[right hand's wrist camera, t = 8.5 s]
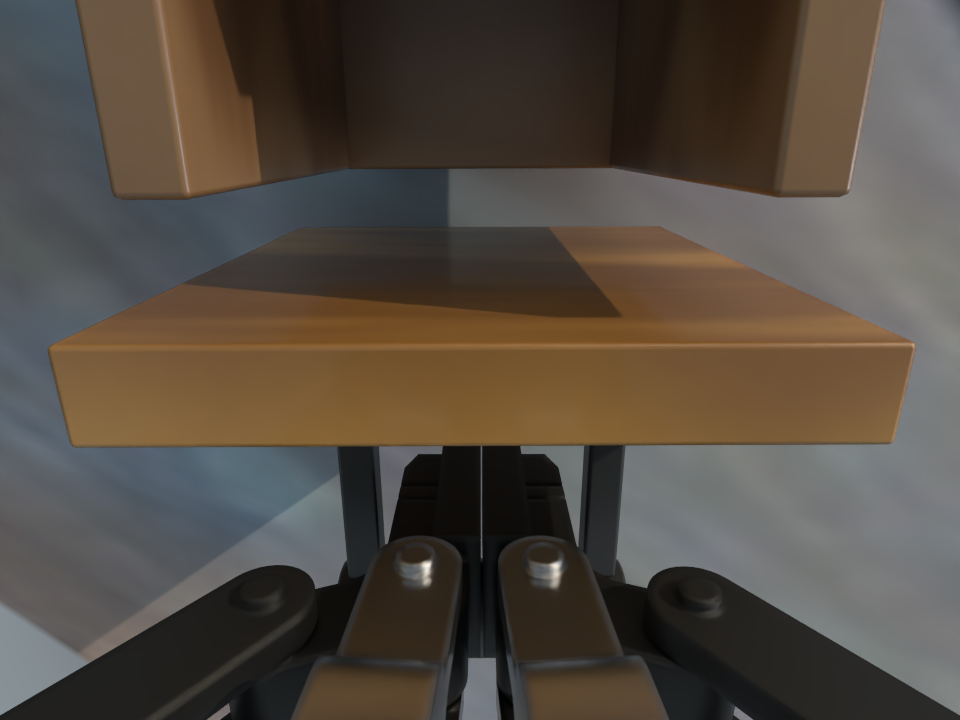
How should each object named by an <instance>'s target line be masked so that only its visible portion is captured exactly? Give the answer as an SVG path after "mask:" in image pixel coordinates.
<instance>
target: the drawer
mask: <svg viewBox="0 0 960 720" xmlns="http://www.w3.org/2000/svg"><path fill="white" fill-rule="evenodd" d="M75 1H76V7H77V12H78V17H79V22H80V27H81V33H82V38H83V43H84V48H85V53H86V59H87V64H88V69H89V74H90V79H91V85H92V90H93V95H94V100H95V105H96V111H97V116H98V121H99V126H100V131H101V137H102V142H103V147H104V152H105V158H106V163H107V168H108V173H109V178H110V184H111V189H112V192H113V194H114V196H115V197H117V198H120V199H122V200H186V199H191V198H196V197H202V196H207V195H212V194H218V193H223V192H228V191H234V190H239V189H244V188H249V187H255V186H260V185H265V184H271V183H276V182H281V181H287V180H292V179H297V178H302V177H308V176H313V175H318V174H324V173H329V172H334V171H340V170H345V169H483V168H615V169H621V170H626V171H632V172H638V173H643V174H649V175H655V176H660V177H666V178H672V179H677V180H683V181H689V182H694V183H700V184H705V185H711V186H717V187H722V188H728V189H734V190H739V191H745V192H751V193H756V194H762V195H767V196H773V197H841V196H843V195H846V194H848V193H849V191H850V189H851V184H852V179H853V174H854V168H855V163H856V157H857V152H858V147H859V141H860V136H861V131H862V125H863V120H864V115H865V109H866V104H867V99H868V93H869V88H870V82H871V77H872V72H873V66H874V61H875V56H876V50H877V45H878V40H879V34H880V29H881V23H882V18H883V13H884V7H885V2H886V0H75ZM915 351H916V345H915V343H914V342H912V341H910V340H908V339H905V338H903V337H901V336H899V335H897V334H894V333H892V332H890V331H888V330H886V329H883V328H881V327H879V326H877V325H875V324H872V323H870V322H868V321H866V320H864V319H861V318H859V317H857V316H855V315H853V314H850V313H848V312H846V311H844V310H842V309H839V308H837V307H835V306H833V305H831V304H828V303H826V302H824V301H822V300H820V299H818V298H815V297H813V296H811V295H809V294H807V293H804V292H802V291H800V290H798V289H796V288H793V287H791V286H789V285H787V284H785V283H782V282H780V281H778V280H776V279H774V278H771V277H769V276H767V275H765V274H763V273H760V272H758V271H756V270H754V269H752V268H749V267H747V266H745V265H743V264H741V263H738V262H736V261H734V260H732V259H730V258H727V257H725V256H723V255H721V254H719V253H716V252H714V251H712V250H710V249H708V248H705V247H703V246H701V245H699V244H697V243H694V242H692V241H690V240H688V239H686V238H683V237H681V236H679V235H677V234H675V233H672V232H670V231H668V230H666V229H664V228H661V227H659V226H653V227H385V228H299V229H297V230H295V231H293V232H291V233H289V234H287V235H284V236H282V237H280V238H278V239H276V240H274V241H272V242H270V243H267V244H265V245H263V246H261V247H259V248H257V249H255V250H253V251H250V252H248V253H246V254H244V255H242V256H240V257H238V258H235V259H233V260H231V261H229V262H227V263H225V264H223V265H221V266H218V267H216V268H214V269H212V270H210V271H208V272H206V273H204V274H201V275H199V276H197V277H195V278H193V279H191V280H189V281H187V282H184V283H182V284H180V285H178V286H176V287H174V288H172V289H169V290H167V291H165V292H163V293H161V294H159V295H157V296H155V297H152V298H150V299H148V300H146V301H144V302H142V303H140V304H138V305H135V306H133V307H131V308H129V309H127V310H125V311H123V312H121V313H118V314H116V315H114V316H112V317H110V318H108V319H106V320H103V321H101V322H99V323H97V324H95V325H93V326H91V327H89V328H86V329H84V330H82V331H80V332H78V333H76V334H74V335H72V336H69V337H67V338H65V339H63V340H61V341H59V342H57V343H55V344H52V345H50V346H49V348H48V355H49V359H50V363H51V367H52V371H53V375H54V379H55V384H56V388H57V392H58V396H59V400H60V404H61V408H62V412H63V416H64V420H65V424H66V428H67V432H68V437H69V441H70V444H71V445H72V446H73V447H314V446H337V449H338V461H339V472H340V483H341V495H342V506H343V518H344V529H345V540H346V552H347V561H346V562H345V563H344V565H343V567H342V570H341V573H340V577H339V581H338V584H340V583H343V582H347V581H350V580H353V579H355V578H358V577H360V576H362V575H363V574H365V573H366V572H367V570H368V567H369V564H370V561H371V560H372V558H373V556H374V555H375V553H376V552H377V551H378V550H379V549H380V548H382V547H383V546H385V538H384V522H383V506H382V491H381V475H380V459H379V446H563V445H584V460H583V478H582V495H581V512H580V529H579V547H578V548H579V549H581V550H582V551H583V552H584V553H585V555H586V556H587V558H588V560H589V562H590V564H591V567H592V569H593V570H595V571H596V572H598V573H599V574H601V575H603V576H605V577H607V578H610V579H612V580H615V581H618V582H622V583H626V581H625V577H624V573H623V570H622V567H621V565H620V563H619V561H618V560H617V559H616V554H617V541H618V529H619V517H620V505H621V493H622V480H623V468H624V456H625V445H812V444H890V443H892V442H893V441H894V438H895V434H896V430H897V426H898V422H899V418H900V413H901V409H902V405H903V401H904V397H905V392H906V388H907V384H908V380H909V376H910V372H911V367H912V363H913V359H914V355H915ZM468 658H496V657H483V558H481V657H468Z"/></svg>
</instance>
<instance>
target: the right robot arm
mask: <svg viewBox="0 0 960 720" xmlns="http://www.w3.org/2000/svg"><path fill="white" fill-rule="evenodd" d="M482 551H483V657H496V706H497V714H498V720H739V719H738V718H737V717H735V716H734V715H733V714H734V708H735V706H736V707H737V708H739V709H740V710H741V711H743V712H744V713H745V714H747V715H748V716H749V717H751V718H752V719H753V720H960V715H958V714H956V713H955V712H953V711H951V710H949V709H948V708H946V707H944V706H943V705H941V704H939V703H938V702H936V701H934V700H932V699H931V698H929V697H927V696H926V695H924V694H922V693H921V692H919V691H917V690H915V689H914V688H912V687H910V686H909V685H907V684H905V683H903V682H902V681H900V680H898V679H897V678H895V677H893V676H892V675H890V674H888V673H886V672H885V671H883V670H881V669H880V668H878V667H876V666H875V665H873V664H871V663H869V662H868V661H866V660H864V659H863V658H861V657H859V656H857V655H856V654H854V653H852V652H851V651H849V650H847V649H846V648H844V647H842V646H840V645H839V644H837V643H835V642H834V641H832V640H830V639H829V638H827V637H825V636H823V635H822V634H820V633H818V632H817V631H815V630H813V629H811V628H810V627H808V626H806V625H805V624H803V623H801V622H800V621H798V620H796V619H794V618H793V617H791V616H789V615H788V614H786V613H784V612H783V611H781V610H779V609H777V608H776V607H774V606H772V605H771V604H769V603H767V602H765V601H764V600H762V599H760V598H759V597H757V596H755V595H754V594H752V593H750V592H748V591H747V590H745V589H743V588H742V587H740V586H738V585H737V584H735V583H733V582H731V581H730V580H728V579H726V578H724V577H722V576H721V575H719V574H716V573H714V572H711V571H708V570H704V569H700V568H695V567H673V568H668V569H665V570H662V571H660V572H659V573H657V574H656V575H654V576H653V577H652V579H651V580H650V581H649V584H648V587H647V588H643V587H639V586H634V585H630V584H626V583H622V582H618V581H615V580H612V579H610V578H607V577H605V576H603V575H601V574H599V573H598V572H596V571H595V570H593V569H592V567H591V564H590V562H589V560H588V558H587V556H586V555H585V553H584V552H583V551H582V550H581V549H579V548H578V547H577V546H576V542H575V538H574V533H573V529H572V525H571V520H570V516H569V512H568V507H567V503H566V499H565V495H564V490H563V486H562V482H561V477H560V473H559V469H558V467H557V466H556V465H555V464H554V463H553V462H552V461H551V460H550V459H549V458H548V457H547V456H546V455H545V454H521V449H520V446H482ZM468 657H481V446H443V451H442V454H418V455H417V456H416V457H415V458H414V459H413V460H412V461H411V462H410V463H409V464H408V465H407V466H406V467H405V470H404V474H403V479H402V483H401V488H400V492H399V499H398V501H397V506H396V510H395V514H394V519H393V523H392V528H391V532H390V537H389V541H388V544H386V545H385V546H383V547H382V548H380V549H379V550H378V551H377V552H376V553H375V555H374V556H373V558H372V560H371V561H370V564H369V567H368V570H367V572H366V573H365V574H363V575H362V576H360V577H358V578H355V579H353V580H350V581H347V582H343V583H340V584H335V585H331V586H327V587H322V588H318V589H315V585H314V582H313V580H312V579H311V577H310V576H309V575H308V574H307V573H306V572H304V571H302V570H300V569H298V568H295V567H291V566H285V565H273V566H265V567H260V568H257V569H253V570H250V571H248V572H245V573H243V574H241V575H239V576H237V577H235V578H234V579H232V580H230V581H228V582H227V583H225V584H223V585H222V586H220V587H218V588H217V589H215V590H213V591H211V592H210V593H208V594H206V595H205V596H203V597H201V598H200V599H198V600H196V601H194V602H193V603H191V604H189V605H188V606H186V607H184V608H183V609H181V610H179V611H177V612H176V613H174V614H172V615H171V616H169V617H167V618H165V619H164V620H162V621H160V622H159V623H157V624H155V625H154V626H152V627H150V628H148V629H147V630H145V631H143V632H142V633H140V634H138V635H137V636H135V637H133V638H131V639H130V640H128V641H126V642H125V643H123V644H121V645H119V646H118V647H116V648H114V649H113V650H111V651H109V652H108V653H106V654H104V655H102V656H101V657H99V658H97V659H96V660H94V661H92V662H91V663H89V664H87V665H85V666H84V667H82V668H80V669H79V670H77V671H75V672H74V673H72V674H70V675H68V676H67V677H65V678H63V679H62V680H60V681H58V682H56V683H55V684H53V685H51V686H50V687H48V688H46V689H45V690H43V691H41V692H39V693H38V694H36V695H34V696H33V697H31V698H29V699H28V700H26V701H24V702H22V703H21V704H19V705H17V706H16V707H14V708H12V709H11V710H9V711H7V712H5V713H4V714H2V715H0V720H207V719H208V718H209V717H211V716H212V715H213V714H215V713H216V712H217V711H219V710H220V709H221V708H223V707H224V706H225V705H227V704H228V703H229V706H230V711H231V712H230V713H229V714H227V715H226V716H225V717H223V718H222V719H221V720H462V714H463V705H464V688H465V686H466V683H467V677H468Z"/></svg>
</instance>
